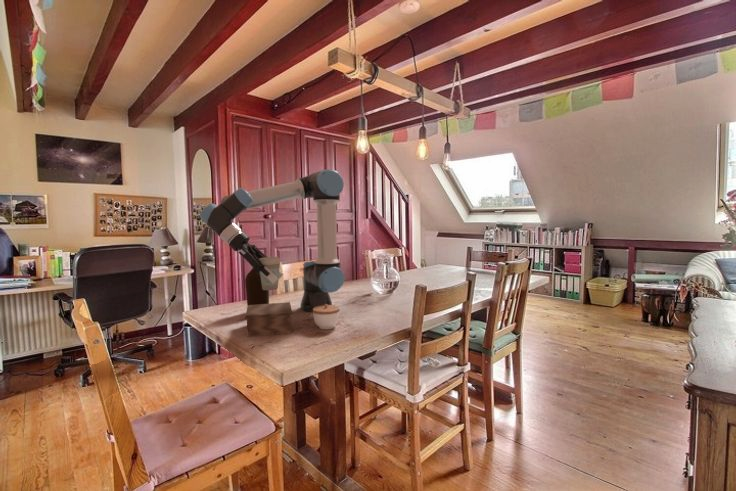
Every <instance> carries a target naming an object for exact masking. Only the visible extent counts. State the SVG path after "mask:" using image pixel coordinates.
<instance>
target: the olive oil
mask: <svg viewBox="0 0 736 491" xmlns="http://www.w3.org/2000/svg"><path fill="white" fill-rule="evenodd" d="M244 280H245V281H244V282H245V293H246V304H247V307H248V305H258V304H270V290H263V289H262V284H261V277H260V272H259V273H257V272H256V270H255V269H254V268H253V267H252V269H251V270H250V271H249V272H248V273H247V275H246V276H245V278H244Z"/></svg>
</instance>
